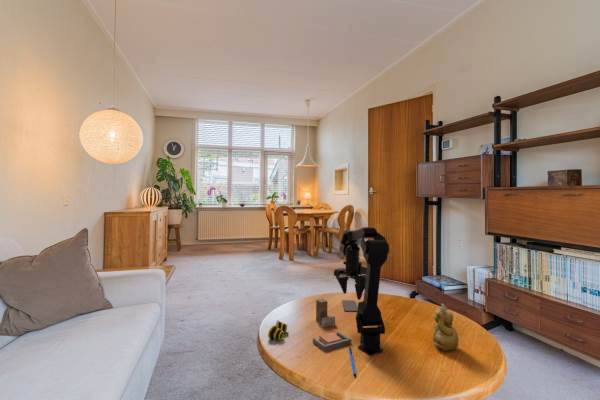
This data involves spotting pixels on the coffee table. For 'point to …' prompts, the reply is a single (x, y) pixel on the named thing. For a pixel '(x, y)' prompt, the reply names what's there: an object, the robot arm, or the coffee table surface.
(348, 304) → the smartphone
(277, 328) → the opera glasses
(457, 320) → the coffee table surface
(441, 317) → the decorative figurine
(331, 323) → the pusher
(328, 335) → the tile
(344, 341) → the tile bay
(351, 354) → the pen
